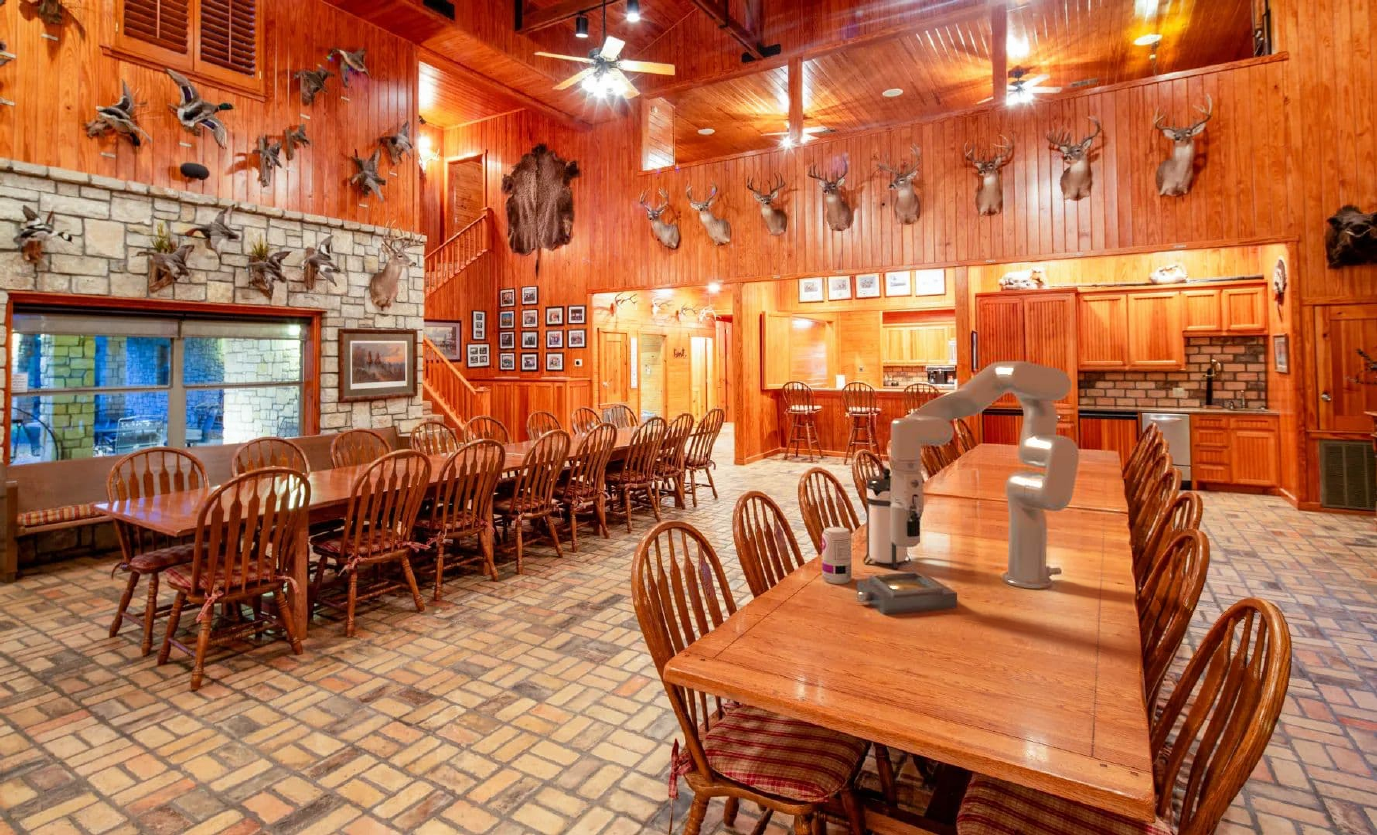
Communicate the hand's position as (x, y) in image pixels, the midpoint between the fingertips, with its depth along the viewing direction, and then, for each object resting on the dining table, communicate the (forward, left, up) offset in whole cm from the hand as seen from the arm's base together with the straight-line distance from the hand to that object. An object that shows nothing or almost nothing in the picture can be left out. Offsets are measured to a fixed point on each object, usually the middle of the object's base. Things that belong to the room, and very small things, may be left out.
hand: (905, 531), depth 177 cm
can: (0, 0, -3) cm, 3 cm away
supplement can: (+11, -20, -19) cm, 30 cm away
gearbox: (+1, 0, -18) cm, 19 cm away
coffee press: (-11, -33, -19) cm, 40 cm away
